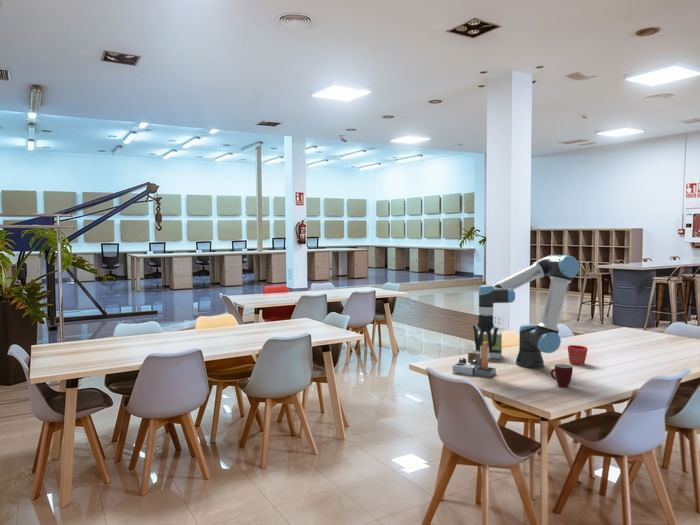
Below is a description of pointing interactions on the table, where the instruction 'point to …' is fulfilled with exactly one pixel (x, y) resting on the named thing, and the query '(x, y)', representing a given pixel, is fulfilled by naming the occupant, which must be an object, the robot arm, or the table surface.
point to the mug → (562, 374)
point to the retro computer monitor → (495, 349)
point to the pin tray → (485, 371)
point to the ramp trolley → (465, 366)
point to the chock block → (474, 356)
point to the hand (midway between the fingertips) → (484, 358)
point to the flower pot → (577, 354)
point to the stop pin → (484, 355)
